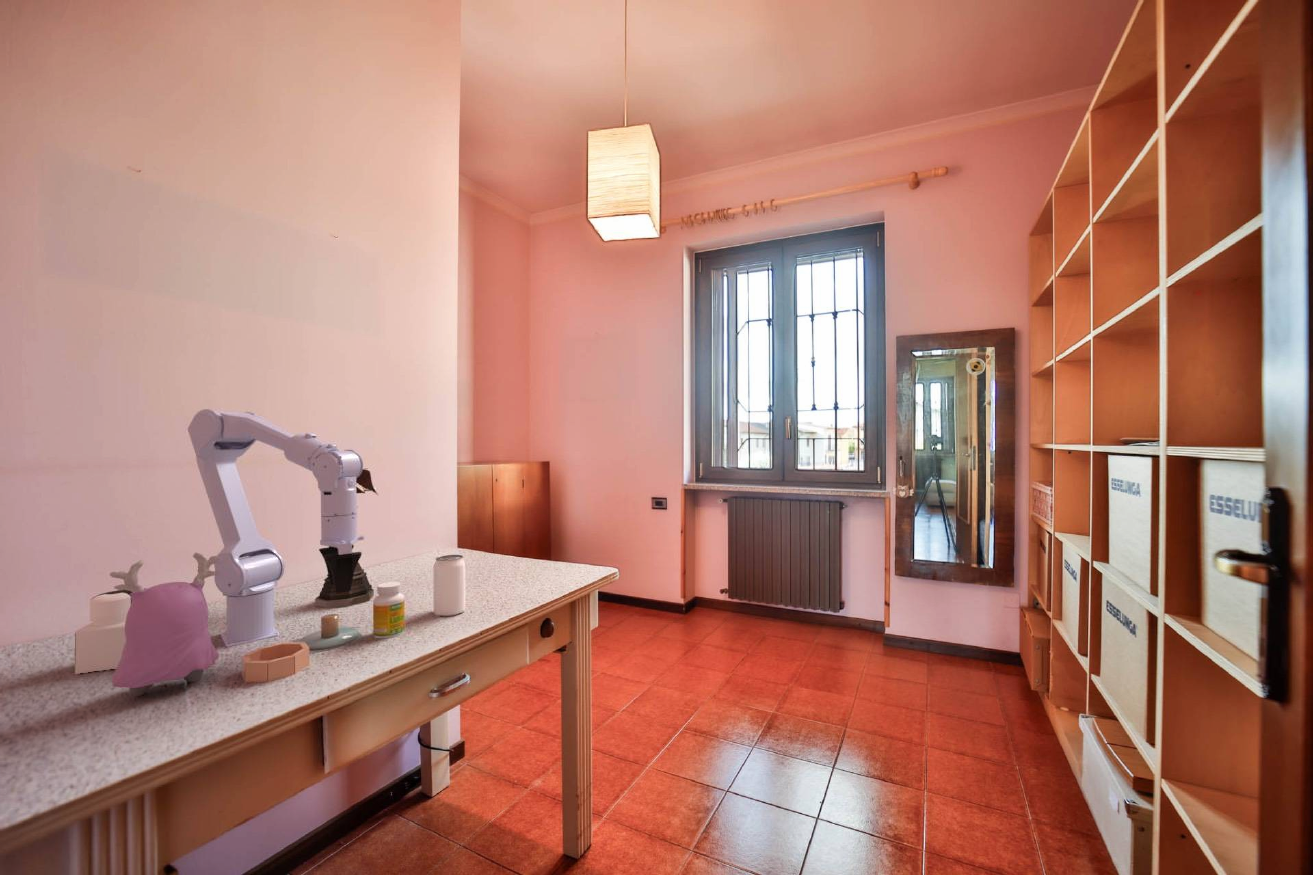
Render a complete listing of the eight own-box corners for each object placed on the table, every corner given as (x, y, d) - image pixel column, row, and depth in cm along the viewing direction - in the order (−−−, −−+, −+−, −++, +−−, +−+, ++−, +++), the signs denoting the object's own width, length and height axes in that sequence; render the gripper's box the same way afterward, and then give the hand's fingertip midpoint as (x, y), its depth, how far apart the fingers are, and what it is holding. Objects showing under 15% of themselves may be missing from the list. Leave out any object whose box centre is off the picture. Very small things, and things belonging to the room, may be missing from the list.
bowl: (239, 672, 84) (239, 652, 84) (301, 656, 90) (301, 638, 90) (247, 688, 78) (247, 667, 78) (313, 671, 84) (312, 651, 84)
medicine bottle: (99, 659, 90) (100, 589, 90) (153, 652, 93) (153, 584, 93) (73, 675, 84) (74, 600, 84) (132, 667, 86) (132, 595, 87)
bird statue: (323, 591, 132) (323, 453, 132) (380, 586, 136) (380, 452, 136) (300, 610, 116) (300, 454, 117) (366, 604, 120) (366, 453, 121)
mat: (292, 642, 97) (292, 640, 97) (352, 628, 104) (352, 626, 104) (304, 657, 90) (304, 655, 90) (367, 641, 97) (367, 639, 97)
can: (471, 610, 115) (471, 556, 115) (445, 618, 109) (445, 561, 110) (453, 606, 118) (452, 553, 119) (427, 613, 113) (427, 558, 113)
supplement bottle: (391, 640, 97) (391, 588, 97) (366, 639, 98) (366, 587, 98) (410, 630, 103) (410, 581, 103) (386, 629, 104) (386, 580, 104)
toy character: (217, 666, 87) (217, 545, 87) (221, 686, 79) (222, 554, 80) (112, 690, 78) (113, 557, 79) (106, 715, 71) (107, 568, 71)
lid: (295, 640, 97) (295, 616, 97) (350, 627, 103) (350, 605, 103) (306, 654, 90) (306, 628, 90) (364, 639, 97) (364, 615, 97)
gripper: (370, 515, 94) (371, 591, 94) (357, 509, 105) (358, 576, 105) (324, 520, 90) (325, 599, 89) (315, 513, 101) (316, 583, 101)
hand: (340, 587), depth 97 cm, fingers open, 7 cm apart
